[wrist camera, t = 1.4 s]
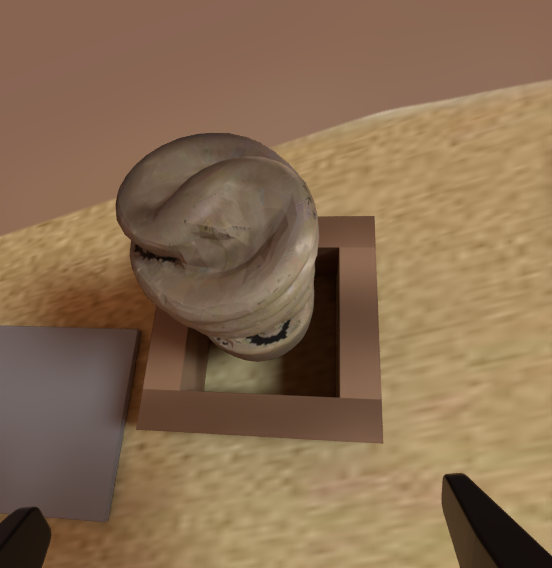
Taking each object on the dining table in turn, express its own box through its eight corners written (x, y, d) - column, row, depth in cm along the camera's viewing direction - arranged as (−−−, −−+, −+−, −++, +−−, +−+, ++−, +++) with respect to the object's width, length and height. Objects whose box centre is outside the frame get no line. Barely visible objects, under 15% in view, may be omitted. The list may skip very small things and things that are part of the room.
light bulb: (340, 337, 23) (373, 181, 9) (270, 405, 22) (180, 354, 8) (274, 272, 24) (213, 58, 11) (206, 332, 24) (41, 186, 10)
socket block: (371, 441, 21) (383, 443, 17) (167, 430, 22) (136, 429, 18) (366, 249, 24) (374, 216, 21) (192, 249, 26) (170, 217, 22)
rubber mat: (108, 520, 21) (103, 521, 20) (-65, 505, 22) (-74, 506, 21) (141, 331, 24) (137, 329, 24) (-10, 327, 25) (-16, 325, 25)
